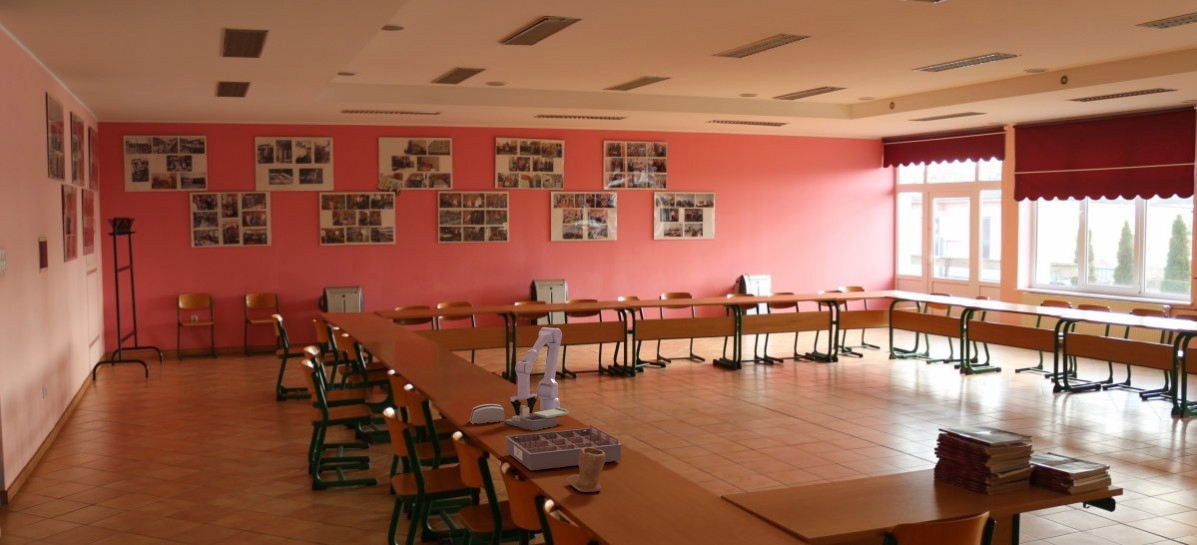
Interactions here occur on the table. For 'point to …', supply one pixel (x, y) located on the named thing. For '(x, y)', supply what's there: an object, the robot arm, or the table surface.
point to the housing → (532, 422)
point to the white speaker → (487, 413)
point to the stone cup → (588, 470)
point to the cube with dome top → (524, 411)
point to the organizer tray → (560, 447)
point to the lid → (552, 412)
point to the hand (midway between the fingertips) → (523, 414)
